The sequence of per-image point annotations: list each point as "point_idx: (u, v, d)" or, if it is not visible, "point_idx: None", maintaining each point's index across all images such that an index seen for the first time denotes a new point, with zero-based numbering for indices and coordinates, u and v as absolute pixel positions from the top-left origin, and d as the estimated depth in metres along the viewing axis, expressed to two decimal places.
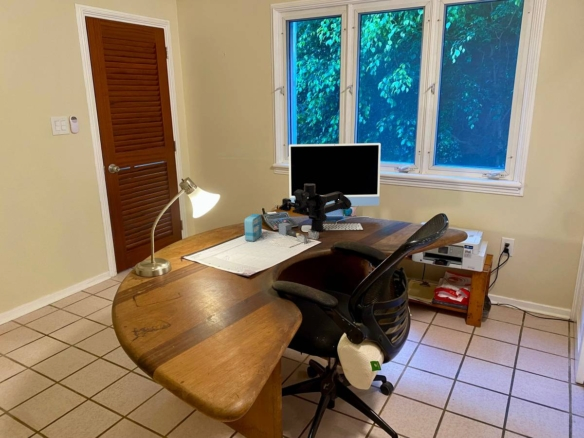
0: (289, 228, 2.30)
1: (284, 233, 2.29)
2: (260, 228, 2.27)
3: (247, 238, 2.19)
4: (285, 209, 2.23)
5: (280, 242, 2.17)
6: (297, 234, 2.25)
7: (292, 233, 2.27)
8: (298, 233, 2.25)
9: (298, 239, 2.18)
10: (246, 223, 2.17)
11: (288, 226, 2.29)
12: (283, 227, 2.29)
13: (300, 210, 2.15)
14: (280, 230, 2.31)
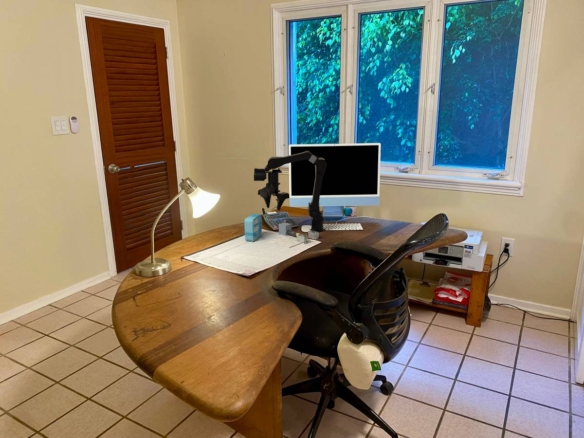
0: (289, 228, 2.30)
1: (284, 233, 2.29)
2: (260, 228, 2.27)
3: (247, 238, 2.19)
4: (269, 198, 2.37)
5: (280, 242, 2.17)
6: (297, 234, 2.25)
7: (292, 233, 2.27)
8: (298, 233, 2.25)
9: (298, 239, 2.18)
10: (246, 223, 2.17)
11: (288, 226, 2.29)
12: (283, 227, 2.29)
13: (280, 202, 2.30)
14: (280, 230, 2.31)
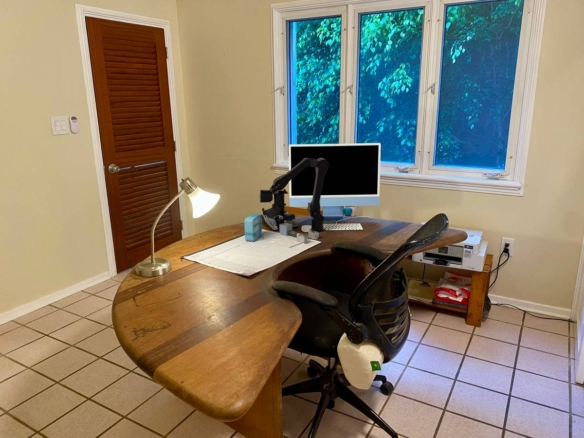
0: (290, 228, 2.30)
1: (285, 233, 2.29)
2: (260, 228, 2.27)
3: (247, 238, 2.19)
4: None
5: (280, 242, 2.17)
6: (298, 234, 2.25)
7: (293, 233, 2.26)
8: None
9: (298, 239, 2.18)
10: (246, 223, 2.17)
11: (289, 226, 2.29)
12: (284, 227, 2.29)
13: (281, 222, 2.33)
14: (281, 230, 2.30)
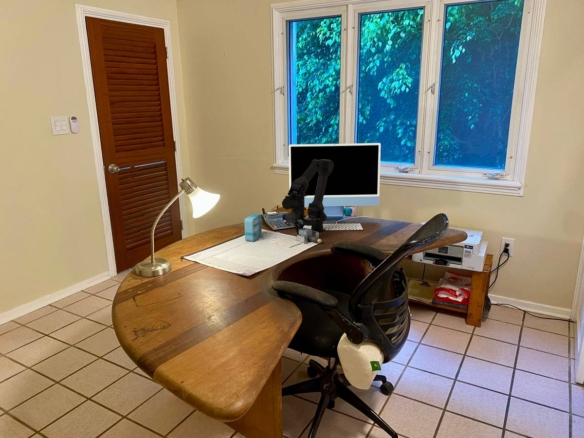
0: (310, 234, 2.21)
1: None
2: (260, 228, 2.27)
3: (247, 238, 2.19)
4: None
5: (280, 242, 2.17)
6: (318, 240, 2.15)
7: (313, 239, 2.17)
8: (319, 239, 2.15)
9: (298, 239, 2.18)
10: (246, 223, 2.17)
11: (309, 232, 2.20)
12: (303, 233, 2.19)
13: (301, 227, 2.24)
14: None
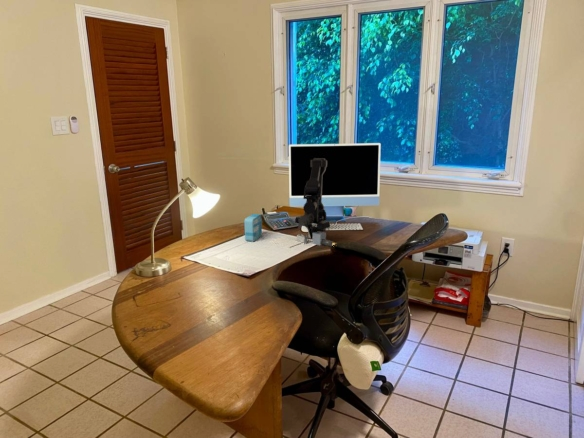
0: (324, 237, 2.15)
1: (318, 243, 2.14)
2: (260, 228, 2.27)
3: (247, 238, 2.19)
4: None
5: (280, 242, 2.17)
6: (333, 244, 2.10)
7: (327, 243, 2.11)
8: (334, 243, 2.10)
9: (298, 239, 2.18)
10: (246, 223, 2.17)
11: (323, 235, 2.14)
12: (317, 236, 2.14)
13: (314, 230, 2.18)
14: (314, 239, 2.15)
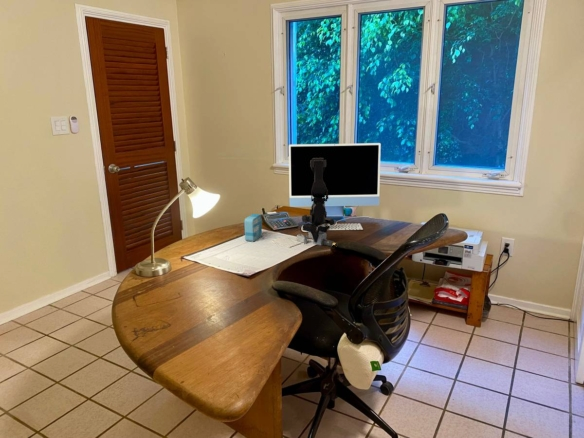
0: (324, 237, 2.15)
1: (319, 242, 2.14)
2: (260, 228, 2.27)
3: (247, 238, 2.19)
4: (324, 230, 2.17)
5: (280, 242, 2.17)
6: (334, 244, 2.10)
7: (328, 243, 2.11)
8: (335, 243, 2.10)
9: (298, 239, 2.18)
10: (246, 223, 2.17)
11: (323, 235, 2.14)
12: (318, 236, 2.14)
13: (314, 234, 2.13)
14: None
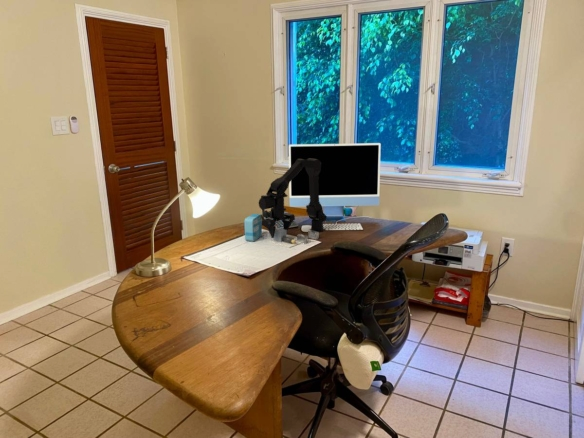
0: (284, 234, 2.19)
1: (279, 239, 2.18)
2: (260, 228, 2.27)
3: (247, 238, 2.19)
4: (287, 225, 2.22)
5: (280, 242, 2.17)
6: (292, 241, 2.13)
7: (287, 239, 2.15)
8: (294, 240, 2.14)
9: (298, 239, 2.18)
10: (246, 223, 2.17)
11: (283, 232, 2.18)
12: (278, 233, 2.17)
13: (271, 230, 2.15)
14: (275, 236, 2.19)
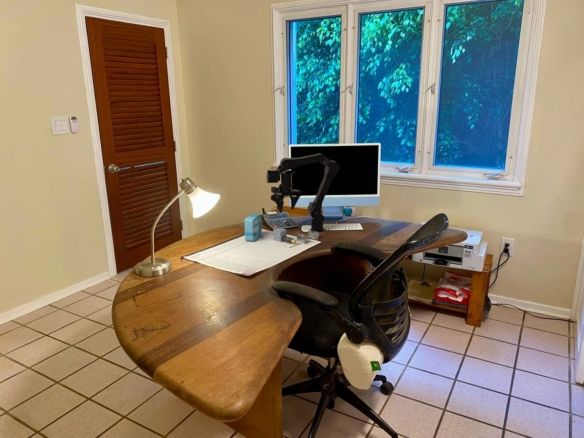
0: (284, 234, 2.19)
1: (279, 239, 2.18)
2: (260, 228, 2.27)
3: (247, 238, 2.19)
4: (294, 200, 2.33)
5: (280, 242, 2.17)
6: (292, 241, 2.13)
7: (287, 239, 2.15)
8: (294, 240, 2.14)
9: (298, 239, 2.18)
10: (246, 223, 2.17)
11: (283, 232, 2.18)
12: (278, 233, 2.17)
13: (279, 204, 2.26)
14: (275, 236, 2.19)
